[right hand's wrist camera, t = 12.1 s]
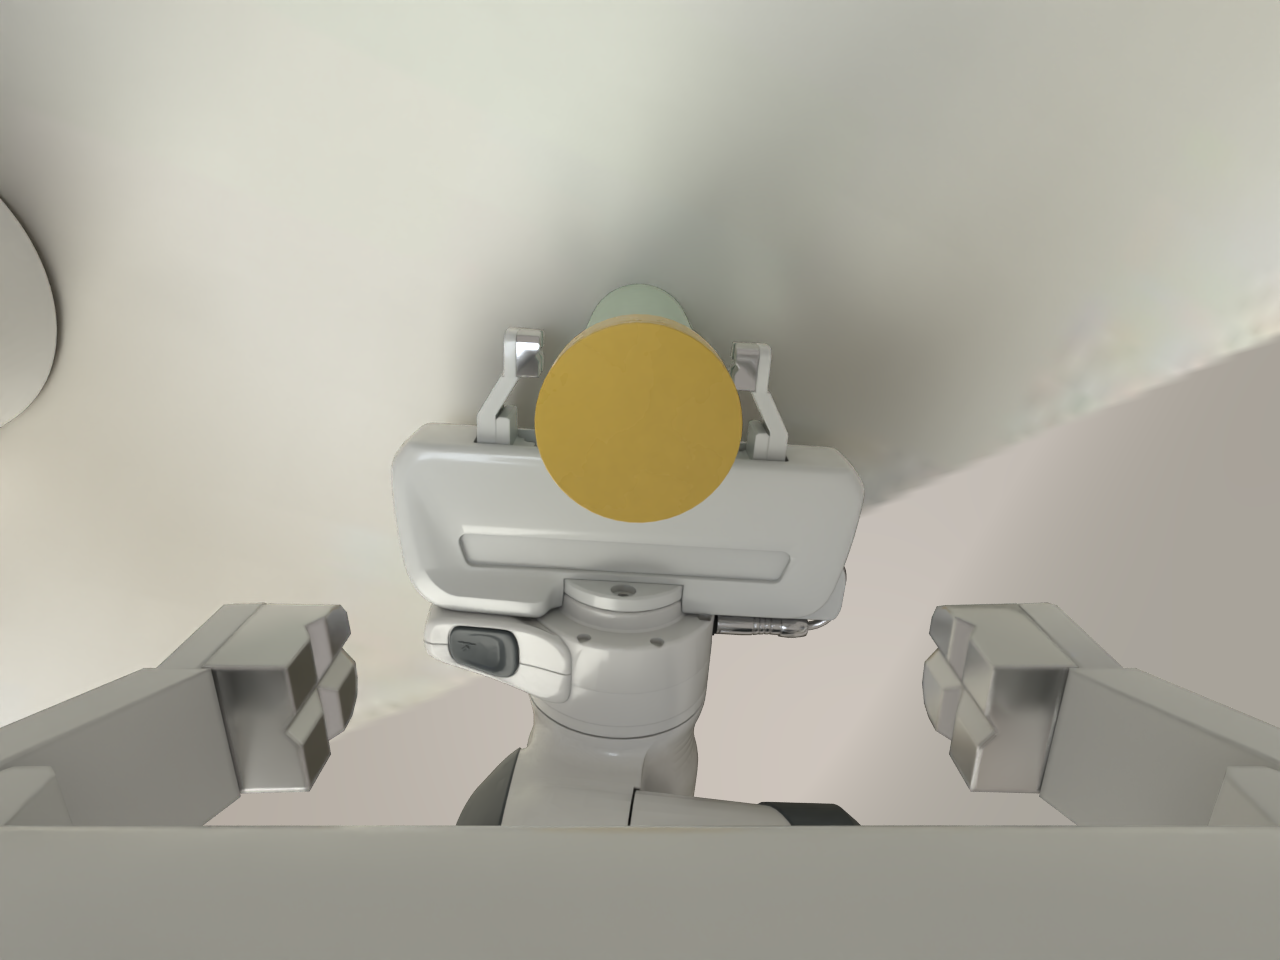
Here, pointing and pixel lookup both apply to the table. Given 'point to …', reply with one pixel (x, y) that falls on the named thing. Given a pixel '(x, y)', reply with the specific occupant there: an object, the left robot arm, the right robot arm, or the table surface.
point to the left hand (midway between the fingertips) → (638, 336)
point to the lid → (638, 419)
